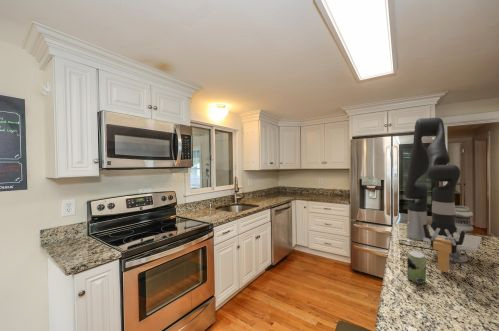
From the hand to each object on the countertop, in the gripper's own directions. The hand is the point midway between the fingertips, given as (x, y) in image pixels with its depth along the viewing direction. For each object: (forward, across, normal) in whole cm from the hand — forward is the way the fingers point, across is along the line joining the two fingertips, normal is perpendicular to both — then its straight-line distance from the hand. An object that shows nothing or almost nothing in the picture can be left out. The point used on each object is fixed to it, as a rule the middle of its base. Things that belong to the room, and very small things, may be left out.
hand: (443, 250), depth 96 cm
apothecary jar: (+10, -3, +62) cm, 63 cm away
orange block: (+8, 0, 0) cm, 8 cm away
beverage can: (+10, -6, -15) cm, 19 cm away
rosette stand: (+10, 0, +18) cm, 20 cm away
